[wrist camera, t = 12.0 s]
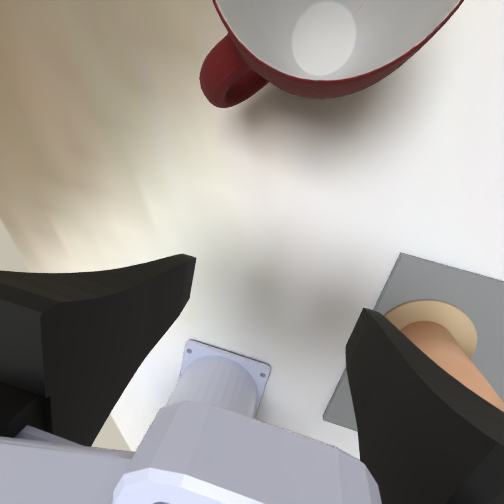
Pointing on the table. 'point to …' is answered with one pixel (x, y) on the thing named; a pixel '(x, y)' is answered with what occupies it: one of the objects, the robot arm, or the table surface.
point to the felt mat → (450, 291)
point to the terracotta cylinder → (450, 357)
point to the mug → (315, 45)
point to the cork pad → (436, 320)
